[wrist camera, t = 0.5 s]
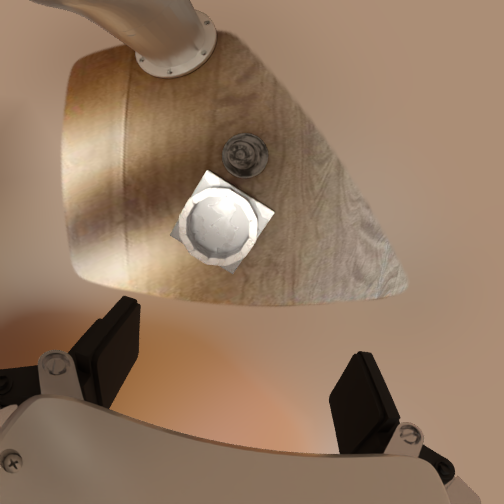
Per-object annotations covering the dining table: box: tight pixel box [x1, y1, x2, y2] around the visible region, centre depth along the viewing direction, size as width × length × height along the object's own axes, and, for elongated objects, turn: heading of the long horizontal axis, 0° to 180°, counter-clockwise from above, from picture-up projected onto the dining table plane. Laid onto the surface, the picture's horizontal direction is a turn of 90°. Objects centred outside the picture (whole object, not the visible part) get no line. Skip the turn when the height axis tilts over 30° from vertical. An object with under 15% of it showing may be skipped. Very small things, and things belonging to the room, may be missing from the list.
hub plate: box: [170, 170, 274, 274], centre depth 39 cm, size 11×11×4 cm
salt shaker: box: [222, 133, 268, 178], centre depth 32 cm, size 6×6×12 cm
